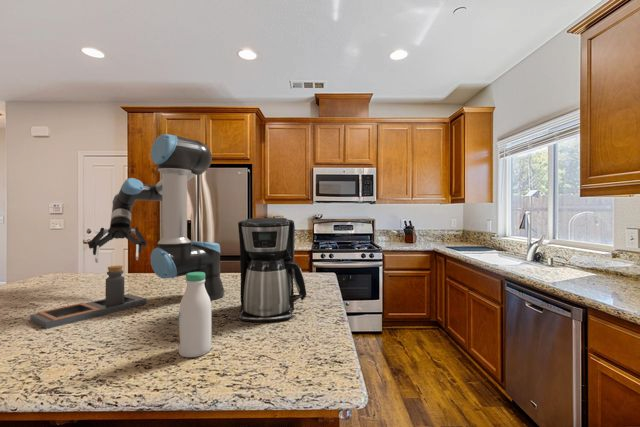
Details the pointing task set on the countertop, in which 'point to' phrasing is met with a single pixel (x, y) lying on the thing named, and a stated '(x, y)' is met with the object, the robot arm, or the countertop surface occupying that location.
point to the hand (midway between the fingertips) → (117, 259)
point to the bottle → (114, 286)
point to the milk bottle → (195, 317)
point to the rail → (88, 311)
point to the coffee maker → (268, 269)
